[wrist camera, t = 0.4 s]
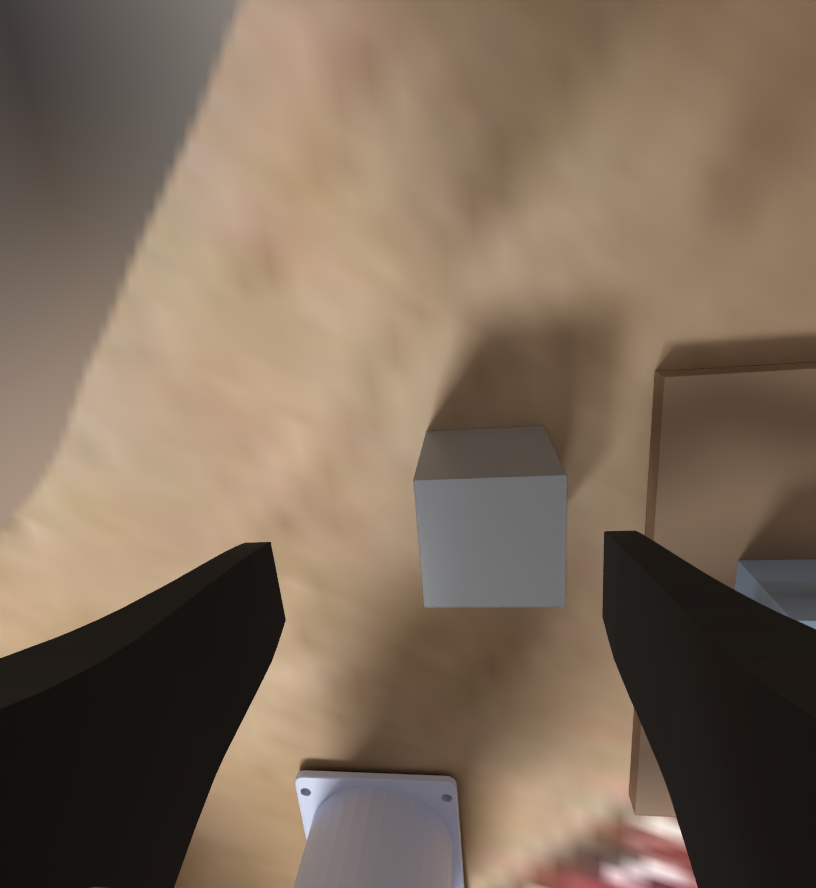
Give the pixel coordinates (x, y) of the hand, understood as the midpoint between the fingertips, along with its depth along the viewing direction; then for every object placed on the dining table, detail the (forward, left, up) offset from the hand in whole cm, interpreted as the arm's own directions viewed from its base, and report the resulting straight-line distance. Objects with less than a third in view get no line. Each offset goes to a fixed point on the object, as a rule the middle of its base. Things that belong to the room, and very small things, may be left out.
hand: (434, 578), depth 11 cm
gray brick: (-2, -1, -10) cm, 10 cm away
